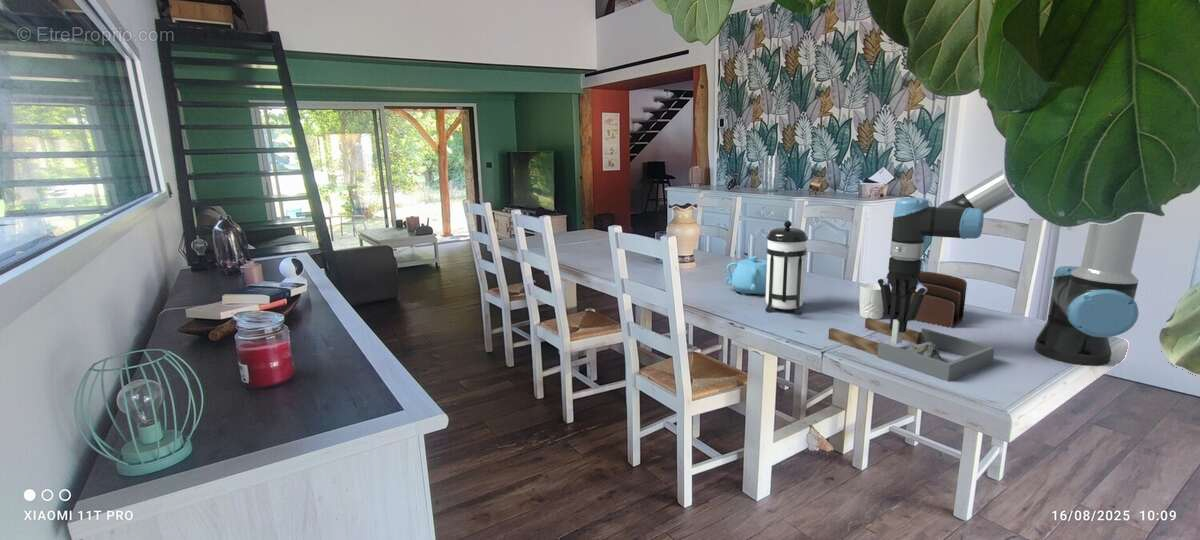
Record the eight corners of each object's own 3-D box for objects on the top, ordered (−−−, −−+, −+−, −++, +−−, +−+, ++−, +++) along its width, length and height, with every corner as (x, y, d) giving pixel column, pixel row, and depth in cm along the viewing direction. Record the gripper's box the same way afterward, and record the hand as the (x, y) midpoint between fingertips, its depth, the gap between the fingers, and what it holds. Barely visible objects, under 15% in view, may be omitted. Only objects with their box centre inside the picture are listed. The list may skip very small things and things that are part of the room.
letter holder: (895, 308, 188) (899, 267, 185) (963, 321, 173) (968, 276, 170) (883, 314, 181) (887, 272, 178) (952, 328, 167) (957, 282, 164)
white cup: (878, 312, 183) (881, 282, 181) (888, 320, 175) (891, 289, 173) (853, 312, 184) (856, 283, 182) (862, 320, 176) (864, 289, 174)
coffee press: (749, 306, 193) (751, 220, 186) (786, 300, 199) (790, 216, 192) (782, 320, 178) (787, 227, 171) (822, 313, 183) (828, 222, 177)
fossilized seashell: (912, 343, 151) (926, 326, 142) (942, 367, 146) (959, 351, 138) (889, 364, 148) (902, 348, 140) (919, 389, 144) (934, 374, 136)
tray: (992, 362, 142) (994, 347, 141) (947, 381, 132) (949, 365, 131) (922, 341, 157) (923, 328, 156) (877, 357, 147) (878, 342, 146)
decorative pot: (755, 284, 222) (756, 250, 219) (784, 293, 208) (785, 257, 205) (721, 290, 216) (722, 255, 213) (749, 299, 201) (750, 262, 198)
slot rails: (920, 342, 156) (921, 332, 156) (879, 356, 148) (880, 345, 147) (867, 327, 170) (868, 317, 169) (828, 338, 161) (828, 328, 160)
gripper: (873, 255, 150) (866, 338, 156) (922, 263, 140) (911, 352, 145) (890, 251, 154) (882, 332, 160) (939, 259, 143) (928, 346, 149)
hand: (896, 342), depth 152 cm, fingers closed
